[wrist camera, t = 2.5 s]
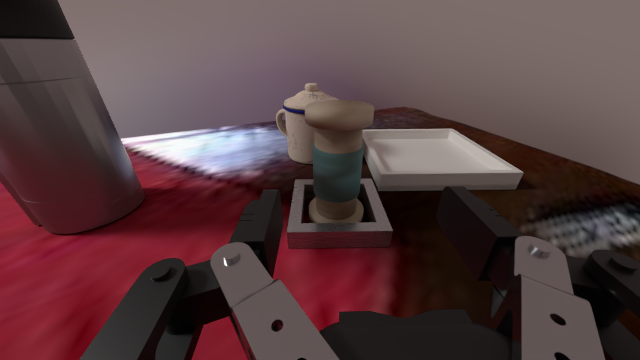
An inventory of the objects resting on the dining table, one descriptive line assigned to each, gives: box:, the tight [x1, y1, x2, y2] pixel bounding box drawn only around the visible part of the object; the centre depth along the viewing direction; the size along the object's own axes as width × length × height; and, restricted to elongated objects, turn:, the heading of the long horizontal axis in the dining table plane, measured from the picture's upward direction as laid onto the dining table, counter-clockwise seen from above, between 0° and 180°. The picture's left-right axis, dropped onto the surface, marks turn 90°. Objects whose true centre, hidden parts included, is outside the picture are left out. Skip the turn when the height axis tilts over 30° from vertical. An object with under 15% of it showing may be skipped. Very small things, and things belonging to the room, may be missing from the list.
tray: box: [362, 129, 524, 191], centre depth 38 cm, size 18×18×2 cm
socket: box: [287, 179, 393, 248], centre depth 26 cm, size 10×10×2 cm
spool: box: [305, 100, 374, 223], centre depth 23 cm, size 6×6×12 cm
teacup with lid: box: [276, 83, 338, 164], centre depth 39 cm, size 12×9×12 cm
